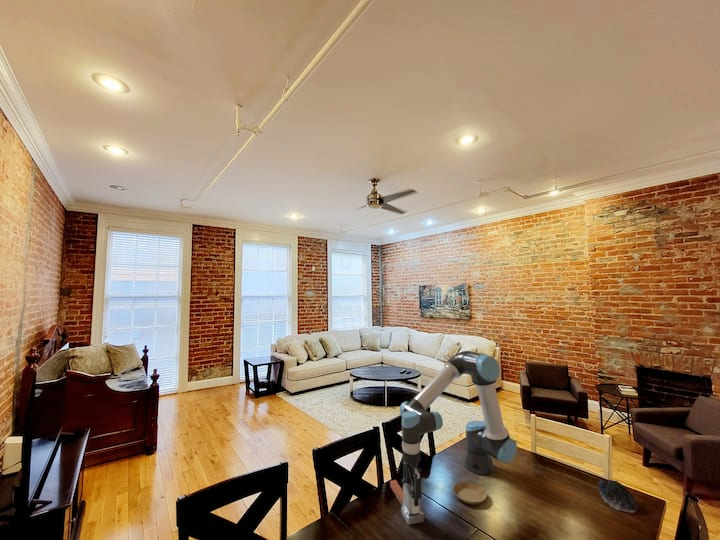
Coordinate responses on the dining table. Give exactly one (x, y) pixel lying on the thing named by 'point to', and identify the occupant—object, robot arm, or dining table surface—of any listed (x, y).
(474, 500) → the plant saucer
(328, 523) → the dining table surface
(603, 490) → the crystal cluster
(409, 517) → the mallet
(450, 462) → the dining table surface
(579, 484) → the dining table surface
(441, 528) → the dining table surface
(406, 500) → the white upright block
